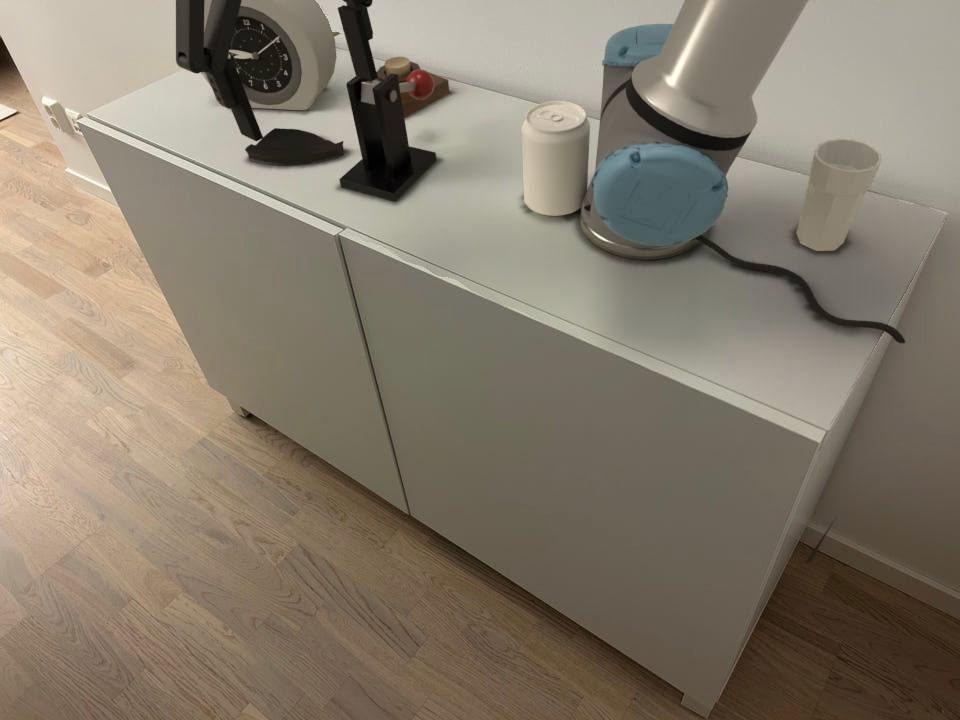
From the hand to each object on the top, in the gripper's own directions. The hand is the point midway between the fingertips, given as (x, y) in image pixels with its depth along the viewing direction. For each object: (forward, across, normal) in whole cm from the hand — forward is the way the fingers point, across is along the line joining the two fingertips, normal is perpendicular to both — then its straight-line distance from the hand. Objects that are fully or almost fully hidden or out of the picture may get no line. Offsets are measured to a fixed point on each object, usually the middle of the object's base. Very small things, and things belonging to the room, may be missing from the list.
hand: (312, 105), depth 69 cm
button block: (+21, -34, -34) cm, 52 cm away
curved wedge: (+20, -12, -33) cm, 40 cm away
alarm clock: (+19, -20, -49) cm, 56 cm away
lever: (+13, -22, -18) cm, 31 cm away
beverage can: (+24, -27, +5) cm, 36 cm away
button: (+17, -34, -33) cm, 50 cm away
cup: (+26, -41, +34) cm, 59 cm away
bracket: (+22, -17, -17) cm, 32 cm away
